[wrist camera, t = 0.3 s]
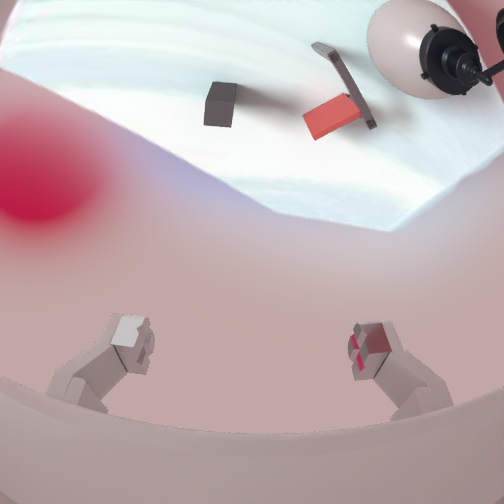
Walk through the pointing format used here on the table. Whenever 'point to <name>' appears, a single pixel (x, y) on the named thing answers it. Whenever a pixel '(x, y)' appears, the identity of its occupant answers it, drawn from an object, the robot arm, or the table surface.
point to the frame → (347, 82)
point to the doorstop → (220, 104)
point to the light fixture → (427, 49)
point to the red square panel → (331, 116)
